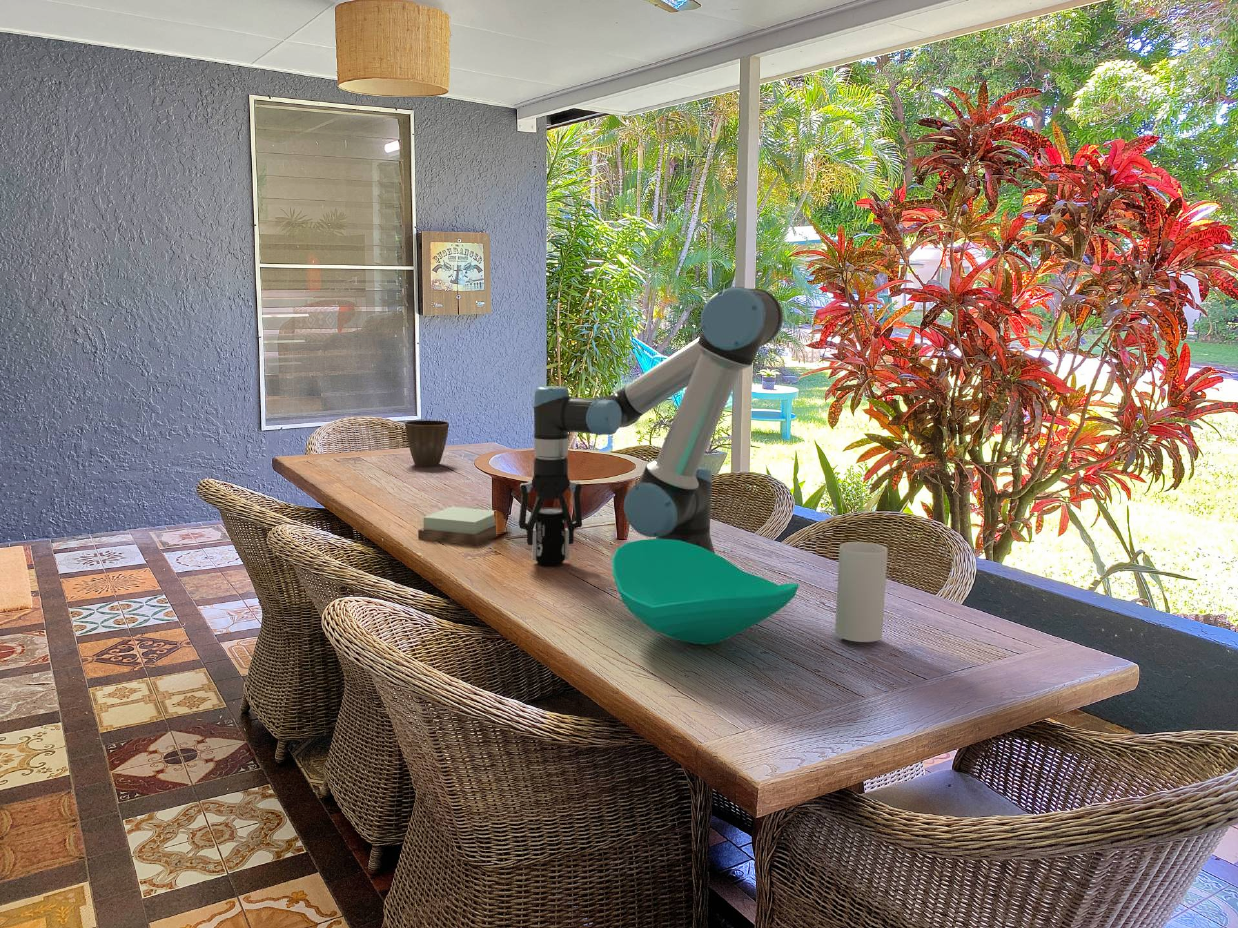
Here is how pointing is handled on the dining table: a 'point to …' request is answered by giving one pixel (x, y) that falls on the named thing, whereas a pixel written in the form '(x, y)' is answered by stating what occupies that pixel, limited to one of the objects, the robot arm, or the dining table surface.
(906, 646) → the dining table surface
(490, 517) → the tower top
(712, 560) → the table top decor
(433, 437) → the plant pot
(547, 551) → the beverage can
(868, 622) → the cup
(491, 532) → the tower base
